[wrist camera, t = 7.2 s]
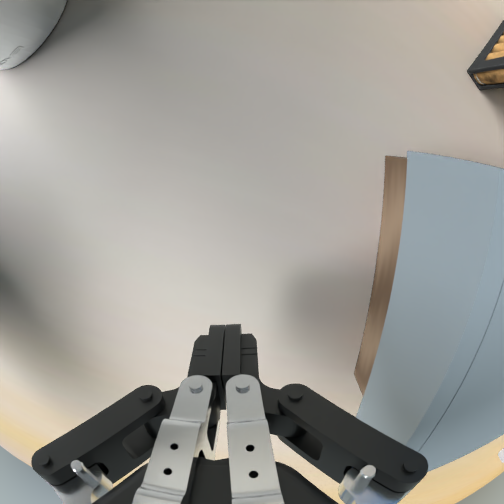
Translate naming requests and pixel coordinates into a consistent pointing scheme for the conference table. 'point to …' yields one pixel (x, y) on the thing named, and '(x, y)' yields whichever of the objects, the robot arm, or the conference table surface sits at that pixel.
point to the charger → (501, 455)
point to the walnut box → (383, 265)
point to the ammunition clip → (490, 63)
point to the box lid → (444, 314)
